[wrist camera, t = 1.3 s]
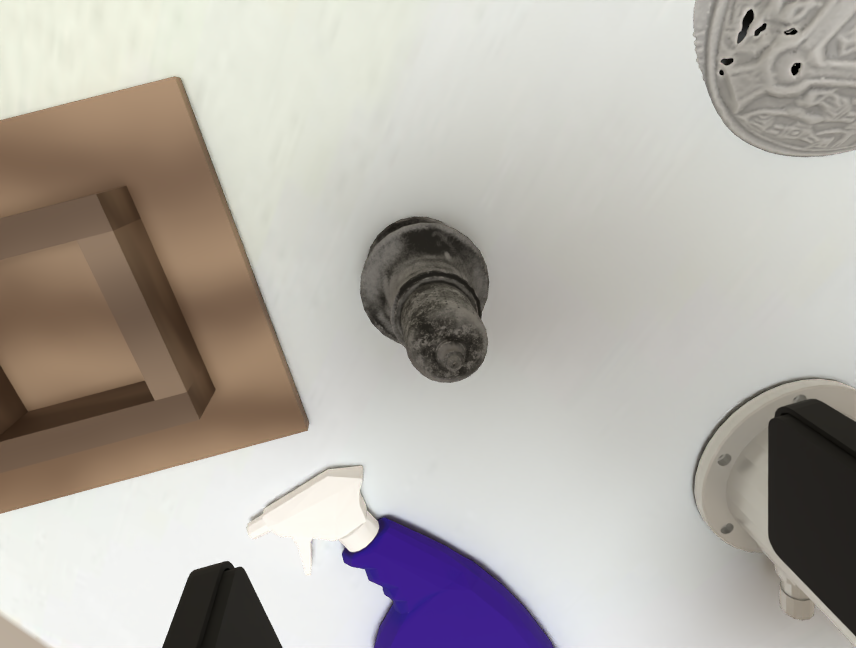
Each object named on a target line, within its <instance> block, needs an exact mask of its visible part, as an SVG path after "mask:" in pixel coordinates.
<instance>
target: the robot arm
mask: <svg viewBox="0 0 856 648" xmlns="http://www.w3.org/2000/svg"><path fill="white" fill-rule="evenodd" d="M694 494H695V499H696V504H697V508H698V510H699V512H700V514H701V516H702V519H703V520H704V521H705V522H706V523H707V525H708V526H709V527H710V528H711V530H712V531H713V532H714V533H715V534H716V535H717V536H718V537H719V538H720V539H721V540H723V541H724V542H725V543H727V544H729V545H731V546H733V547H735V548H737V549H741V550H744V551H748V552H755V553H764V554H765V555H766V556H767V557H768V558H769V559H770V560H771V561H772V562H773V563H774V564H775V571H776V573H777V575H778V576H779V578H781V582H780V607H781V609H782V610H783V611H784V612H785V613H786V614H787V615H789V616H790V617H792V618H794V619H799V620H807V619H810V618H811V617H812V616H813V615H814V604H815V605H816V606H817V607H818V608H819V609H820V610H821V611H822V612H823V613H824V614H825V615H826V616H827V618H828V619H829V620H830V621H831V622H832V623H833V624H834V625H835V626H836V627H837V628H838V629H839V630H840V631H841V632H842V633H843V634H844V636H845V637H846V638H847V639H848V640H849V641H850V642H851V643H852V644H853V645H854V646H855V647H856V389H855V388H853V387H851V386H848V385H846V384H843V383H840V382H838V381H832V380H825V379H808V380H800V381H795V382H791V383H787V384H783V385H780V386H778V387H775V388H773V389H771V390H768V391H766V392H764V393H762V394H760V395H759V396H757V397H755V398H754V399H752V400H750V401H748V402H747V403H746V404H744V405H743V406H742V407H741V408H739V409H738V410H737V411H736V412H734V413H733V414H732V415H731V416H730V417H729V418H728V419H727V420H726V421H725V422H724V423H723V424H722V425H721V426H720V427H719V429H718V430H717V431H716V433H715V434H714V436H713V437H712V438H711V440H710V441H709V443H708V444H707V446H706V448H705V450H704V452H703V454H702V457H701V459H700V461H699V464H698V468H697V472H696V476H695V489H694ZM162 648H282V646H281V644H280V642H279V639H278V637H277V635H276V633H275V631H274V629H273V627H272V625H271V623H270V621H269V619H268V617H267V615H266V613H265V611H264V609H263V606H262V604H261V602H260V600H259V598H258V596H257V594H256V592H255V590H254V588H253V586H252V584H251V582H250V580H249V578H248V576H247V573H246V572H245V570H244V569H243V568H242V567H237V568H234V566H233V565H232V564H231V563H230V562H229V561H225V562H221V563H218V564H214V565H210V566H207V567H203V568H200V569H196V570H194V571H192V572H191V573H190V575H189V577H188V580H187V582H186V585H185V588H184V590H183V593H182V596H181V598H180V601H179V604H178V607H177V609H176V612H175V615H174V617H173V620H172V623H171V625H170V628H169V631H168V634H167V636H166V639H165V642H164V644H163V647H162Z"/></svg>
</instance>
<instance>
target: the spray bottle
mask: <svg viewBox="0 0 856 648" xmlns="http://www.w3.org/2000/svg"><path fill="white" fill-rule="evenodd" d="M362 481H363V467H362V466H353V467H344V468H335V469H327V470H326V471H324V472H323V473H321V474H319V475H318V476H316V477H314V478H313V479H311V480H310V481H308V482H306V483H305V484H303V485H302V486H300V487H298V488H297V489H295V490H294V491H292V492H290V493H289V494H287V495H285V496H284V497H282V498H281V499H279V500H277V501H276V502H274V503H273V504H271V505H269V506H268V507H266V508H265V509H264V510H263V514H262V515H260V516H259V517H257V518H256V519H254V520H253V521H251V522H249V523H248V524H247V527H246V529H247V532H248V535H249V536H250V537H251V538H252V539H257V538H259V537H261V536H263V535H265V534H267V533H269V532H271V531H272V532H273V533H274V534H276V535H278V536H280V537H291V538H292V539H293V541H294V542H295V544H296V545H297V547H298V550H299V554H300V557H301V561H302V564H303V567H304V571H305V574H306V576H307V575H311V566H312V546H311V541H312V539H313V538H314V539H321V540H329V541H336V540H339V541H340V542H341V543H342V544H343V545H344V546H345V548H344V550H343V552H342V557H343V560H344V563H346V564H348V565H349V566H351V567H356V568H362V569H365V571H366V574H367V576H368V579H369V581H372V582H374V583H376V584H378V585H380V586H382V587H383V591H384V594H385V595H386V596H388V597H389V598H390V599H392V600H393V605H392V606H391V608H390V610H389V612H388V613H387V615H386V617H385V619H384V620H383V622H382V624H381V625H380V627H379V630H378V634H377V638H376V642H375V646H374V648H554V647H553V645H552V643H551V641H550V640H549V639H548V637H547V636H546V635H545V633H544V632H543V631H542V629H541V628H540V627H539V625H538V624H537V623H536V621H535V620H534V619H533V617H532V616H531V615H530V613H529V612H528V611H527V610H526V608H525V607H524V606H523V605H522V604H521V603H520V602H519V601H518V600H517V599H516V598H515V597H514V596H513V595H512V594H511V593H510V592H509V591H508V590H507V589H506V588H505V587H504V586H503V585H502V584H501V583H499V582H498V581H497V580H496V579H494V578H493V577H492V576H491V575H489V574H488V573H487V572H486V571H484V570H483V569H482V568H481V567H480V566H478V565H477V564H476V563H475V562H473V561H472V560H470V559H468V558H466V557H464V556H462V555H460V554H458V553H457V552H455V551H453V550H452V549H450V548H448V547H447V546H445V545H443V544H441V543H439V542H437V541H435V540H433V539H431V538H429V537H427V536H425V535H422V534H420V533H418V532H416V531H414V530H411V529H409V528H407V527H405V526H403V525H400V524H398V523H396V522H394V521H392V520H389V519H387V518H385V517H384V518H381V519H379V520H376V519H375V518H374V517H373V516H372V515H371V514H370V513H369V512H368V511H367V510H366V503H365V501H364V499H363V497H362V495H361V493H360V488H361V485H362Z"/></svg>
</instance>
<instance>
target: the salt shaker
mask: <svg viewBox="0 0 856 648" xmlns="http://www.w3.org/2000/svg"><path fill="white" fill-rule="evenodd" d="M488 288H489V278H488V272H487V266H486V264H485V261H484V259H483V257H482V255H481V253H480V251H479V250H478V248H477V247H476V246H475V245H474V244H473V243H472V241H471V240H470V239H469V238H468V237H466V236H465V235H463V234H462V233H460V232H459V231H457V230H456V229H454V228H451V227H448V226H447V225H445V224H444V223H442V222H441V221H438V220H434V219H431V218H428V217H410V218H406V219H401V220H399V221H397V222H395V223H393V224H391V225H389V226H388V227H387V228H385V229H384V230H383V231H382V232H381V233H380V234H379V235H378V236H377V238H376V239H375V241H374V242H373V244H372V245H371V247H370V251H369V254H368V257H367V260H366V262H365V265H364V268H363V271H362V275H361V290H360V294H361V298H362V302H363V306H364V310H365V312H366V313H367V315H368V317H369V319H370V320H371V322H372V324H373V325H374V326H375V327H376V328H377V329H378V330H379V331H380V332H381V333H382V334H383V335H385V336H387V337H388V338H390V339H392V340H394V341H395V342H397V343H400V344H402V345H403V346H404V347H405V348H406V349H407V354H408V357H409V359H410V361H411V362H412V364H413V366H414V367H415V368H416V369H417V370H418V371H419V372H420V373H421V374H422V375H424V376H425V377H427V378H429V379H431V380H434V381H437V382H446V383H451V382H456V381H460V380H463V379H465V378H467V377H469V376H470V375H471V374H473V373H474V372H475V371H476V370H477V369H478V368H479V367H480V365H481V364H482V363H483V361H484V358H485V356H486V353H487V345H488V338H487V333H486V329H485V327H484V325H483V322H482V320H481V317H482V310H483V308H484V305H485V303H486V300H487V297H488Z"/></svg>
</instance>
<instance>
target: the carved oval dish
mask: <svg viewBox="0 0 856 648" xmlns="http://www.w3.org/2000/svg"><path fill="white" fill-rule="evenodd" d="M750 9H752V10H753V13H754V20H753V22H752V23H751V24H750V25H749V28H748V30H747V35H746V36H745V38H744V39H743V40H742V41H741V42H740V43H737V37H738V34H739V32H740V31H742V30H741V29H742V21H743V18H744V16H745V14H746V13H747V11H749V10H750ZM764 23H767V26H766V29H765V30H764V31H761V32H760V34H759V35H758V36H754V35H755V30H757V29H758V28H759V27H761V26H762V25H763V24H764ZM693 28H694V33H693V36H694V37H696V40H695V41H694V44H695V46H696V48H695V51H696V53H697V59H696V61H697V62H698V64H699V68H700V69H701V71H702V74H703V80H704V81H705V84H706V87H707V90H708V93H709V96H710V98H711V100H712V103H713V105H714V107H715V109H716V111H717V113H718V114H719V116H720V117H721V119H722V120H723V122H724V124H725V125H726V126H727V127H728V128H729V129H730V130H731V131H732V132H733V133H734V134H735V135H736V136H738V137H739V138H741V139H742V140H744V141H745V142H747V143H749V144H750V145H753V146H755V147H757V148H760V149H762V150H764V151H768V152H771V153H774V154H779V155H785V156H796V157H811V156H826V155H833V154H838V153H843V152H848V151H852V150H856V0H695V6H694V16H693ZM791 28H795V29H796V30H797V31H798V32H797V33H796V34H795V35H786V34H784V31H786V30H789V29H791ZM793 30H794V29H793ZM791 31H792V30H791ZM791 31H789V32H791ZM789 32H787V33H789ZM724 58H725V59H729V58H733V60H734V61H733V62H732V63H731V64H730V65H724V64H723V63H721V60H722V59H724ZM794 63H801V66H800V68H799V69H798V70H799V72H798V73H797V74H796V75H793V74H792V72H791V67H792V66H793V64H794ZM795 66H796V64H795ZM721 69H722V70H723V71H724V75H720V74H719V71H720V70H721Z"/></svg>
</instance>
